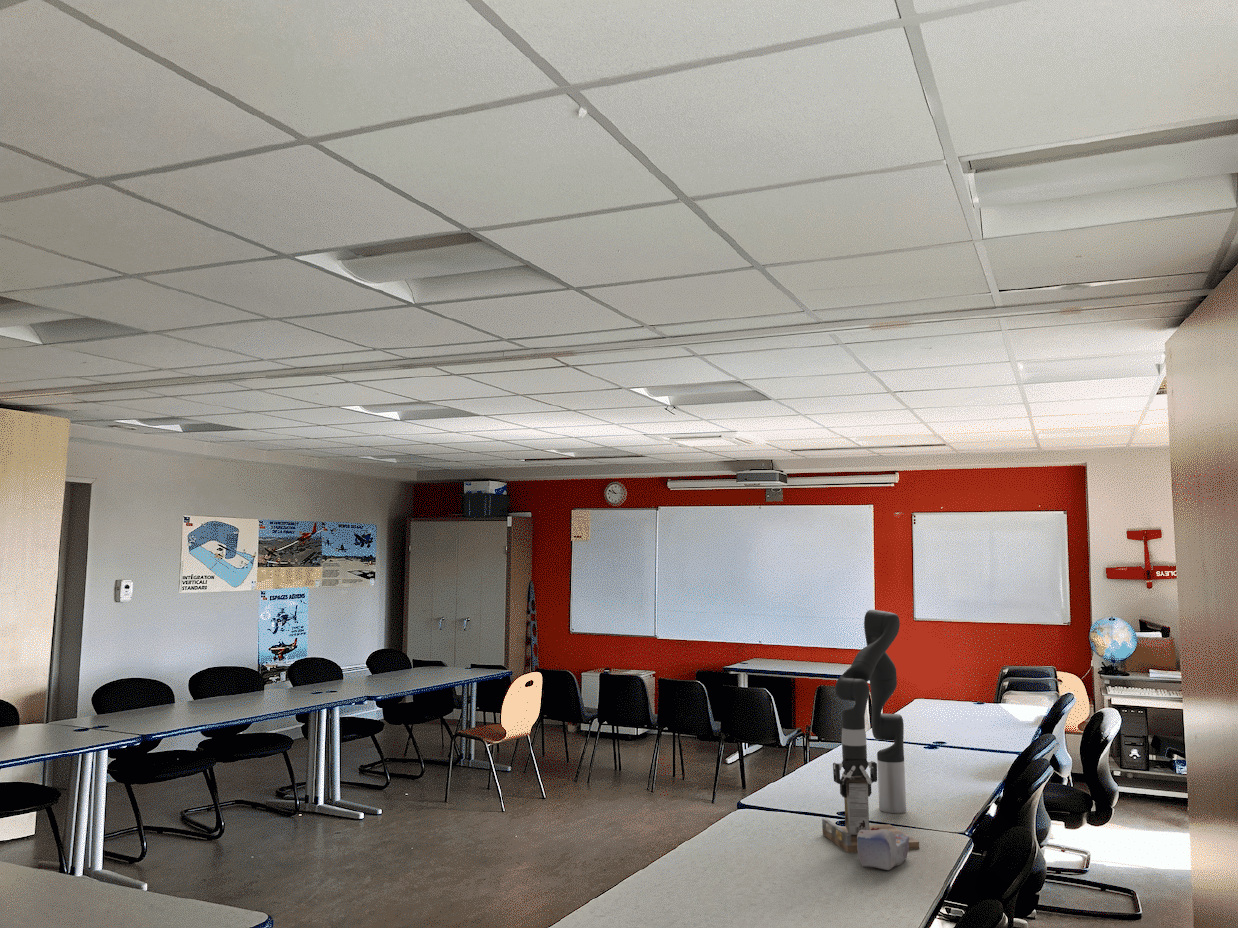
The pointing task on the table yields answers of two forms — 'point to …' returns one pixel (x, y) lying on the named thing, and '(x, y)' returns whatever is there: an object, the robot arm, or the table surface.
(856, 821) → the coffee box
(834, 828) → the shelf board
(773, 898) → the table surface
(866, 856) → the cell model
